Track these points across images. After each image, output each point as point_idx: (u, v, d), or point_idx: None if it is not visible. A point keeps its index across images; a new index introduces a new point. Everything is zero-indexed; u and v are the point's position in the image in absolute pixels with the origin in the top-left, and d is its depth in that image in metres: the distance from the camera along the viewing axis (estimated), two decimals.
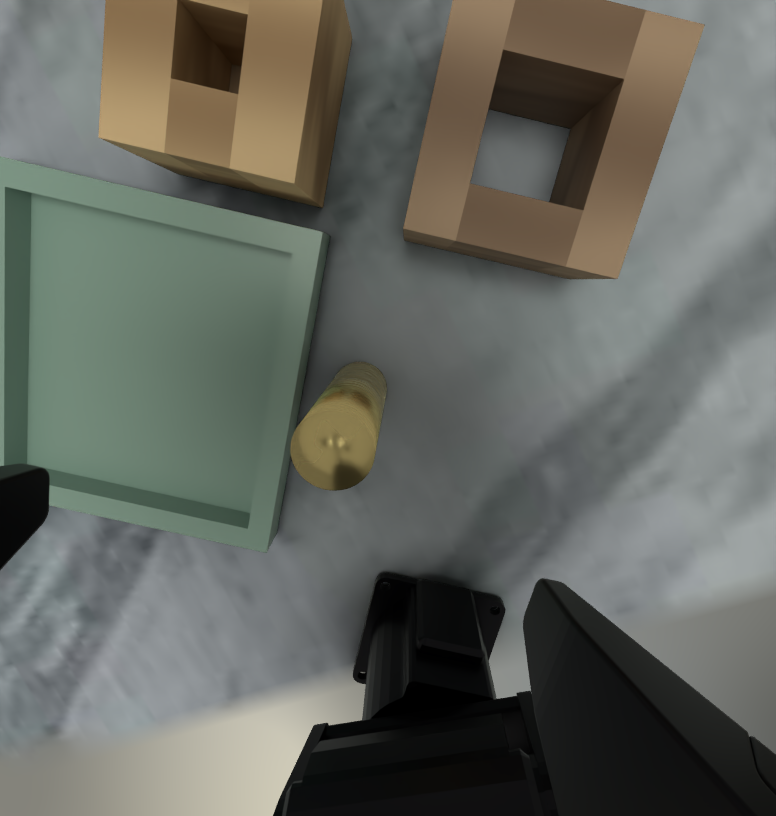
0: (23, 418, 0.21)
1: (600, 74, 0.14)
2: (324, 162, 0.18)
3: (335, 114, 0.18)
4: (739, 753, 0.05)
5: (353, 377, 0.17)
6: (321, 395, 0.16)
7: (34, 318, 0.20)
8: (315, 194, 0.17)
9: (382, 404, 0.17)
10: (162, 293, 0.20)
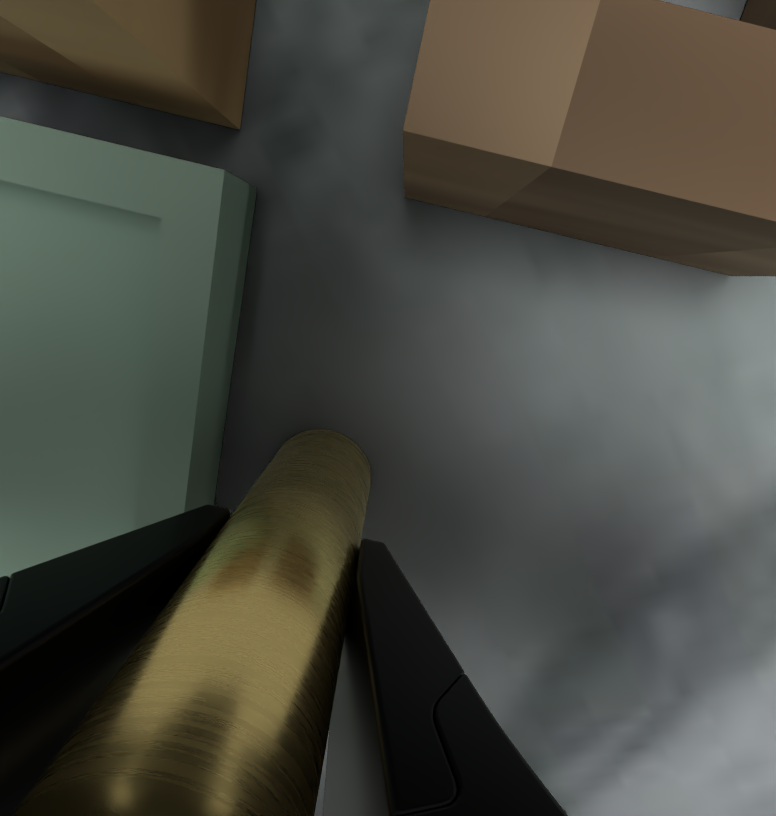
0: None
1: None
2: (228, 15, 0.08)
3: None
4: (430, 687, 0.05)
5: (290, 493, 0.08)
6: (197, 564, 0.06)
7: None
8: (204, 82, 0.08)
9: (355, 551, 0.08)
10: None
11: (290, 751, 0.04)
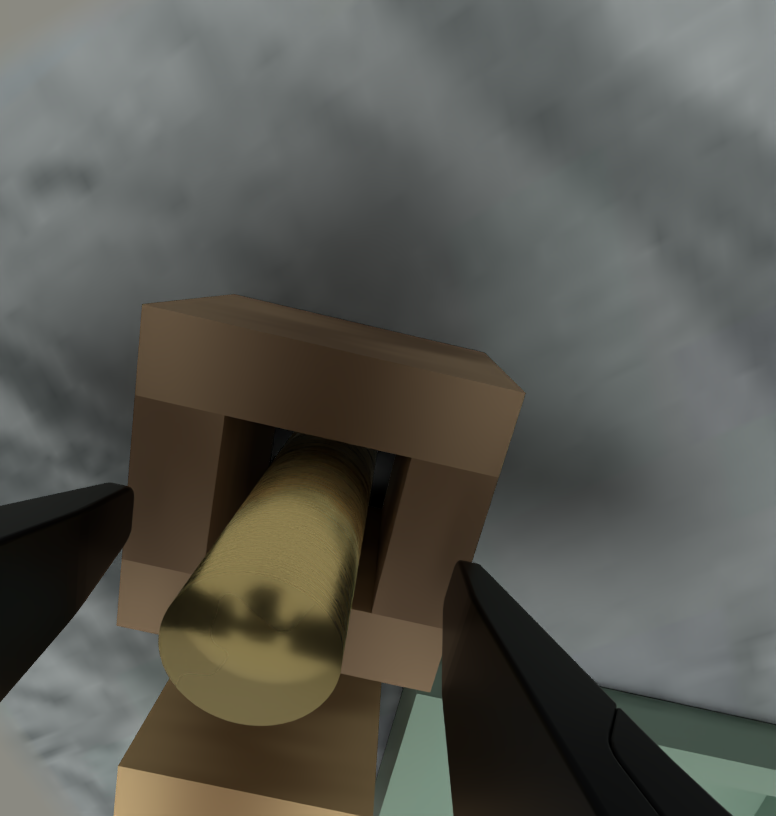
0: None
1: (221, 447, 0.09)
2: None
3: None
4: (596, 723, 0.05)
5: (318, 444, 0.10)
6: (255, 488, 0.09)
7: None
8: (373, 696, 0.14)
9: (368, 489, 0.10)
10: None
11: (334, 580, 0.07)
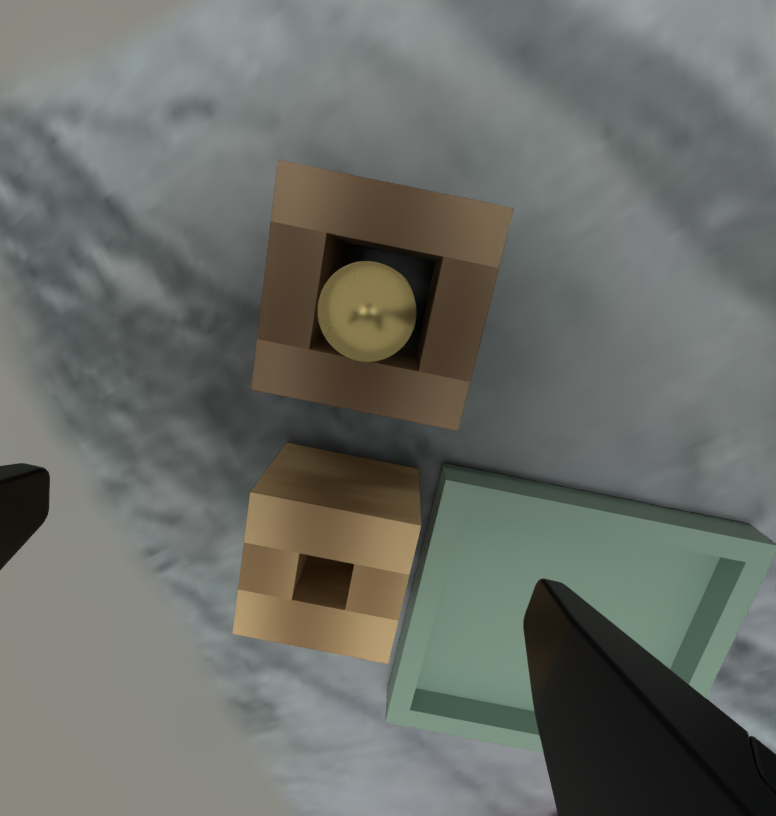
0: None
1: (323, 256, 0.14)
2: (385, 472, 0.20)
3: (345, 460, 0.20)
4: (739, 753, 0.05)
5: None
6: None
7: (508, 702, 0.24)
8: (414, 484, 0.19)
9: None
10: (491, 606, 0.22)
11: (408, 284, 0.12)
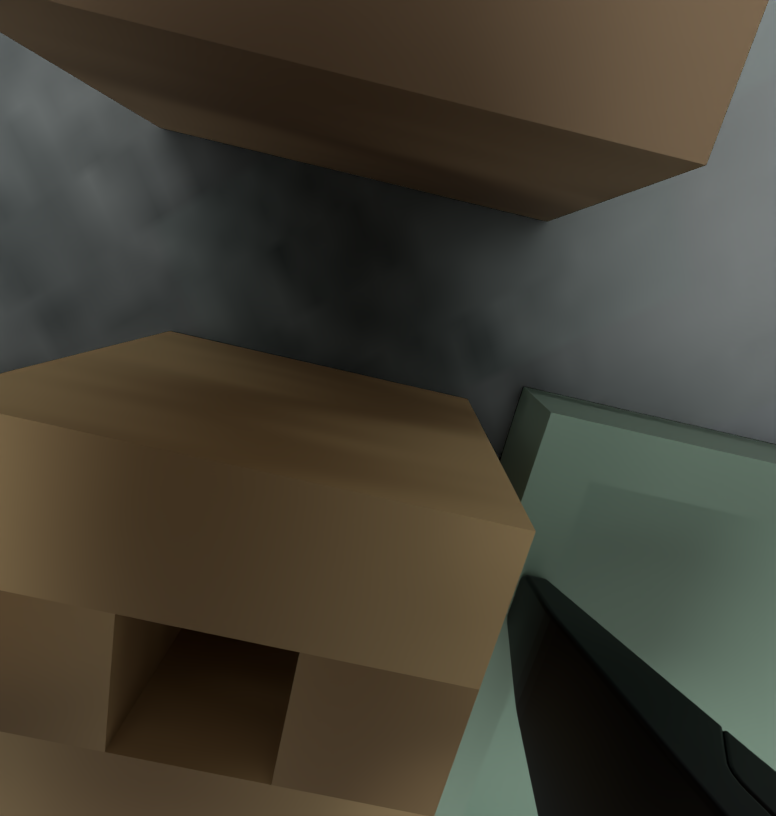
0: None
1: None
2: (395, 397, 0.08)
3: (301, 369, 0.09)
4: (711, 747, 0.05)
5: None
6: None
7: None
8: (468, 424, 0.08)
9: None
10: None
11: None
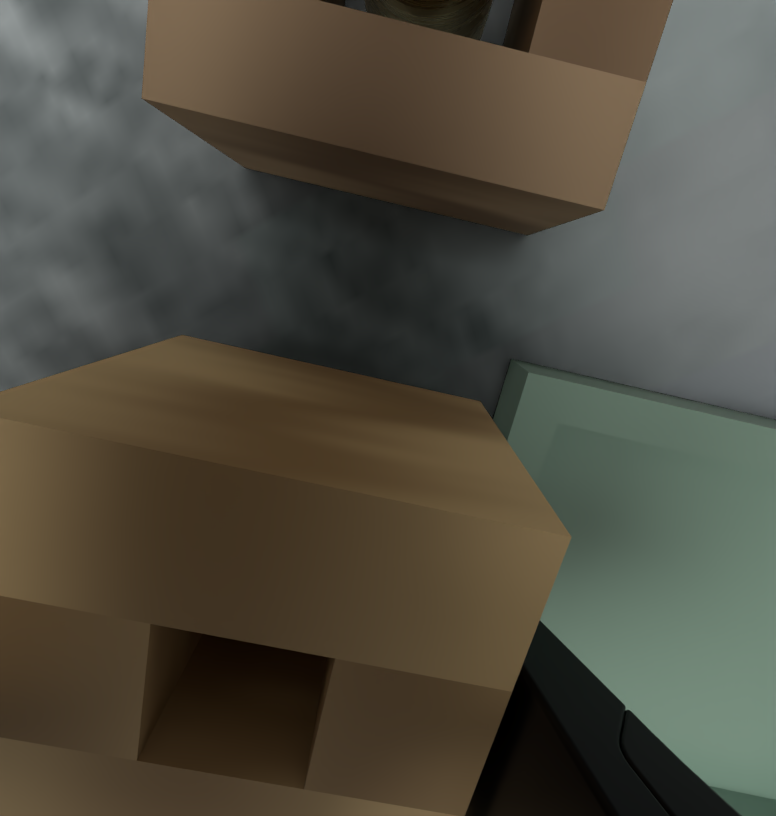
0: (727, 796, 0.15)
1: None
2: (411, 401, 0.08)
3: (317, 373, 0.09)
4: (606, 724, 0.05)
5: None
6: None
7: None
8: (486, 427, 0.08)
9: None
10: (576, 604, 0.14)
11: None
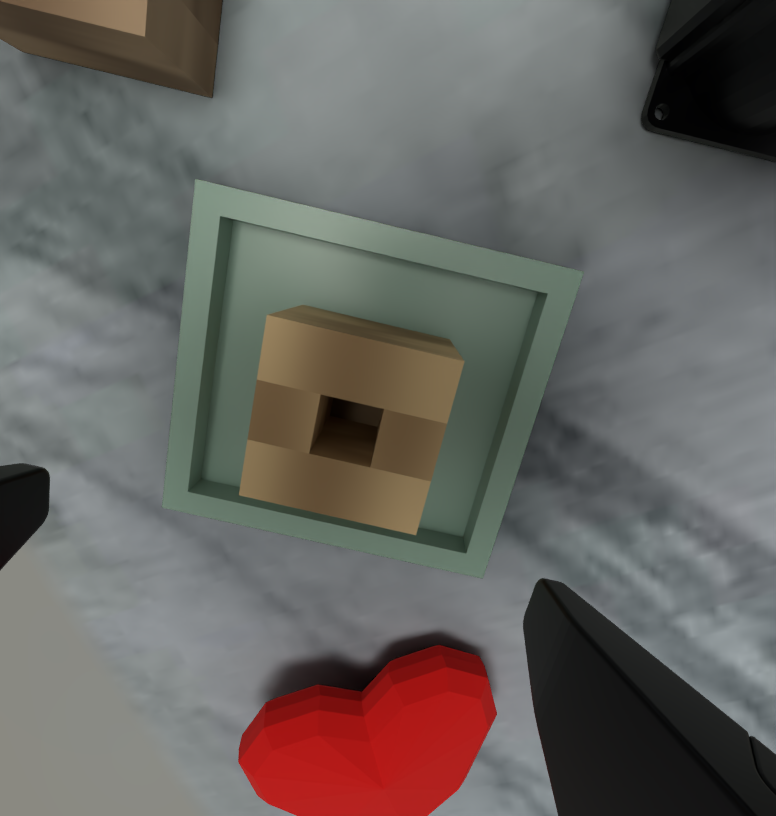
0: None
1: None
2: (414, 334, 0.18)
3: (369, 322, 0.18)
4: (739, 753, 0.05)
5: None
6: None
7: None
8: (448, 344, 0.17)
9: None
10: None
11: None
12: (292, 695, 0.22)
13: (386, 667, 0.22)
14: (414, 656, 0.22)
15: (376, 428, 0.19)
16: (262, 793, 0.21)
